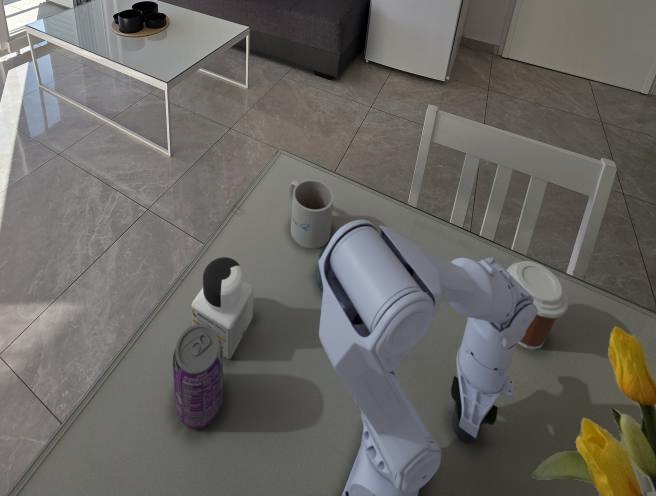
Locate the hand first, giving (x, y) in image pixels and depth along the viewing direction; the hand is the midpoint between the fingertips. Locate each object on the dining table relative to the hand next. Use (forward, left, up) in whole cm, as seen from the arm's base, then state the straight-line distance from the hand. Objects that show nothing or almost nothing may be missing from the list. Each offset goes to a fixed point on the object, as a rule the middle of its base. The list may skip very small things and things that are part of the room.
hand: (469, 410), depth 61 cm
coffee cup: (+20, -6, -4) cm, 22 cm away
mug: (+16, +36, -4) cm, 40 cm away
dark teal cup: (+8, +26, -4) cm, 27 cm away
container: (-10, +38, -4) cm, 39 cm away
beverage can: (-20, +34, -4) cm, 39 cm away
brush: (0, 0, -4) cm, 4 cm away
